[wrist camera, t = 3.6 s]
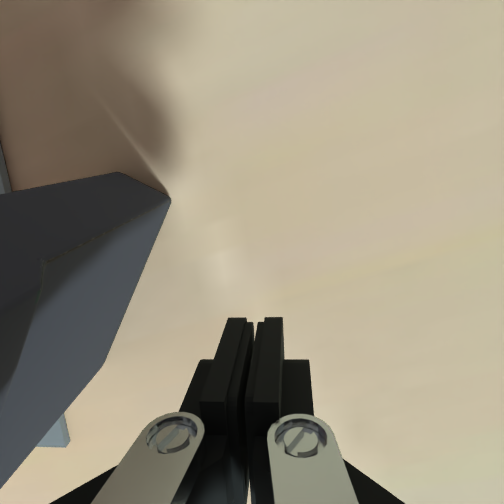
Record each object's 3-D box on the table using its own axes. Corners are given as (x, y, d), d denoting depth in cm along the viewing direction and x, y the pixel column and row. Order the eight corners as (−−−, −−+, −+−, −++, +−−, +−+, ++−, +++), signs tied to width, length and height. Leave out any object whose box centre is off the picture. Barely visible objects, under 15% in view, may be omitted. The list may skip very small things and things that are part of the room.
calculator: (106, 162, 19) (-496, 240, 4) (185, 201, 19) (-147, 400, 5) (45, 337, 22) (-414, 709, 8) (113, 370, 22) (-213, 792, 8)
